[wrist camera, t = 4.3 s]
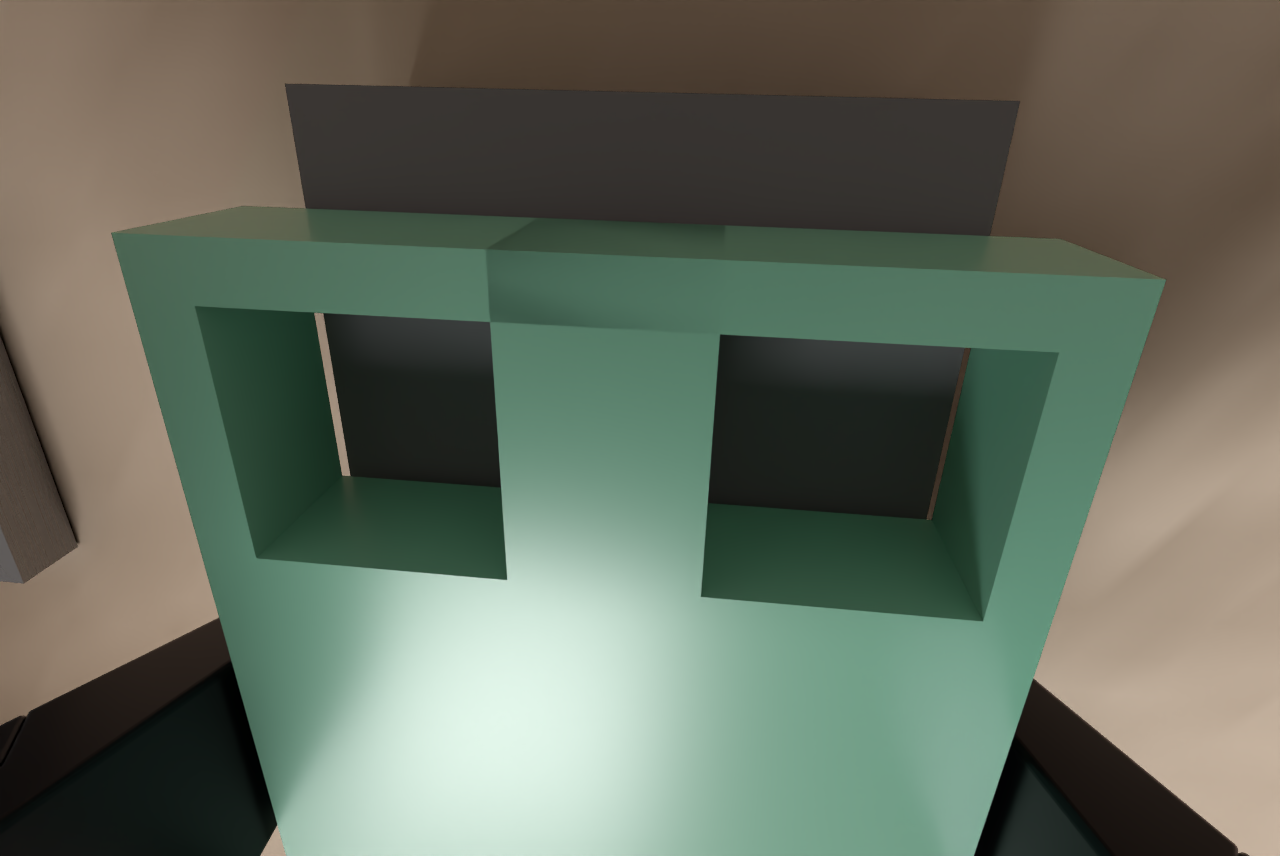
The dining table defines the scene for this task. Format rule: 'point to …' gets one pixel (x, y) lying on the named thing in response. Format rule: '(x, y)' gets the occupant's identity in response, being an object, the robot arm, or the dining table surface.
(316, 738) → the board
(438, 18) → the dining table surface
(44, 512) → the grey metal peg base
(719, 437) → the foam pad
